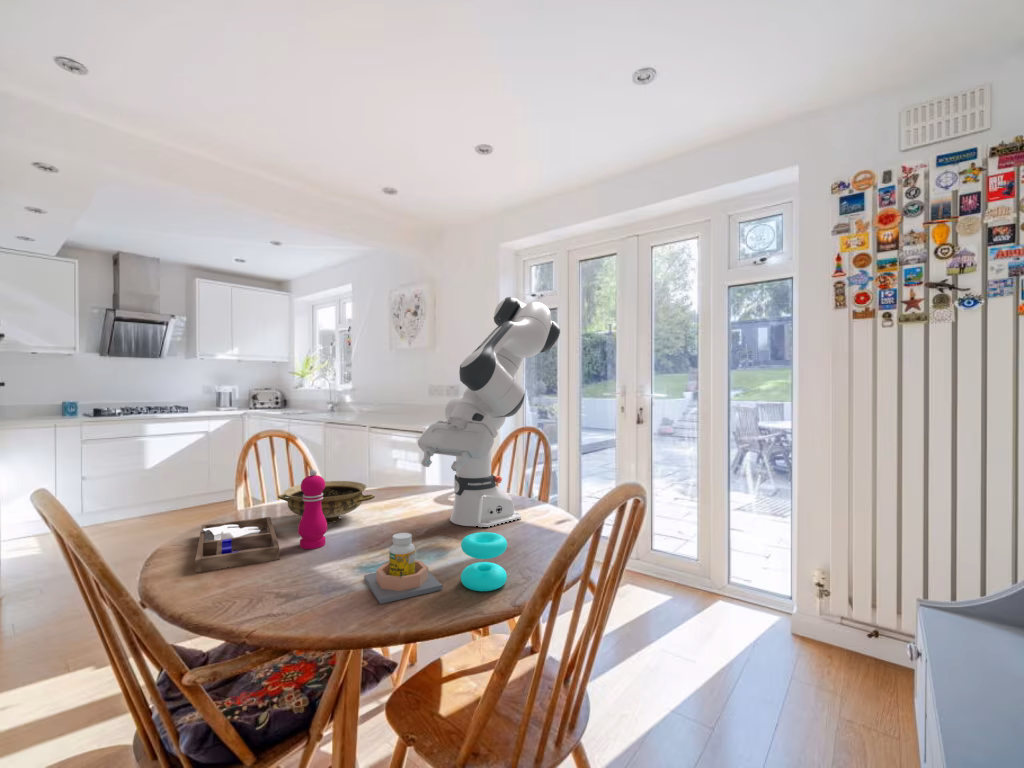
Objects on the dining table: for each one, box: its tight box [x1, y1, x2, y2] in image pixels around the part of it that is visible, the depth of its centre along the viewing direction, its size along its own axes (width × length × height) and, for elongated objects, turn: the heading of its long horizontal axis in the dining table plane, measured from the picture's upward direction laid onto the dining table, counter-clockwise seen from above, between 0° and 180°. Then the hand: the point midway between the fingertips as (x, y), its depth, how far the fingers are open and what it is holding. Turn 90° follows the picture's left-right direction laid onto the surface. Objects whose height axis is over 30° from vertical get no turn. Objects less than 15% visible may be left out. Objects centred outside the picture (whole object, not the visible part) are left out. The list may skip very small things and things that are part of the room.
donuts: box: [460, 531, 508, 592], centre depth 103 cm, size 10×10×10 cm
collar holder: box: [363, 559, 443, 605], centre depth 102 cm, size 13×13×4 cm
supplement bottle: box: [388, 532, 416, 577], centre depth 102 cm, size 5×5×10 cm
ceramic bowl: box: [277, 480, 376, 524], centre depth 148 cm, size 30×24×10 cm
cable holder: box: [222, 539, 240, 554], centre depth 116 cm, size 8×4×4 cm, turn 31°
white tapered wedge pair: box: [200, 525, 261, 542], centre depth 128 cm, size 12×4×11 cm
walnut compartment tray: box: [194, 516, 280, 574], centre depth 124 cm, size 17×29×3 cm, turn 31°
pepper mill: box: [297, 469, 328, 550], centre depth 125 cm, size 7×7×20 cm
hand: (439, 467), depth 112 cm, fingers open, 8 cm apart
